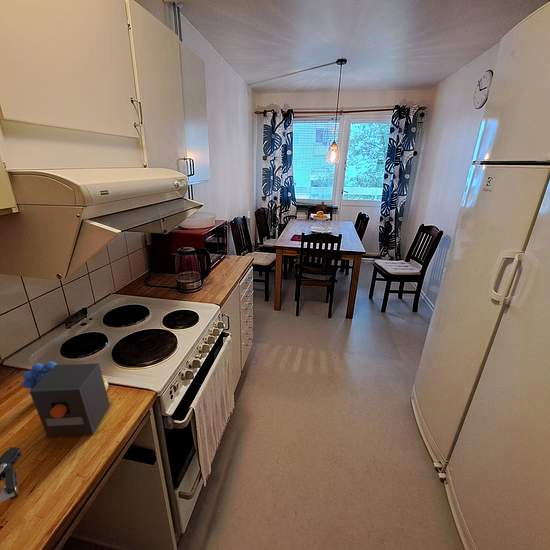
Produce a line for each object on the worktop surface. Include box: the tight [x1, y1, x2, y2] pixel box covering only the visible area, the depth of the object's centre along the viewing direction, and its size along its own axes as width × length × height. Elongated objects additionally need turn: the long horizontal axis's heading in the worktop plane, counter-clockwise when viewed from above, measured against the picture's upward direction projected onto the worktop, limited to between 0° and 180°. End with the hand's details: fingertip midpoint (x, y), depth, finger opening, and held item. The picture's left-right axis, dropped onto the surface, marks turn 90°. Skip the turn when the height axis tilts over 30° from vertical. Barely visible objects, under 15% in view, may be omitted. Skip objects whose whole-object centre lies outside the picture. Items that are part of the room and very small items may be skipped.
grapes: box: [21, 361, 58, 391], centre depth 90 cm, size 12×7×12 cm, turn 132°
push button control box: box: [29, 363, 111, 438], centre depth 80 cm, size 12×10×16 cm
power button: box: [50, 404, 67, 418], centre depth 74 cm, size 3×2×3 cm, turn 94°
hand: (16, 449), depth 61 cm, fingers closed
